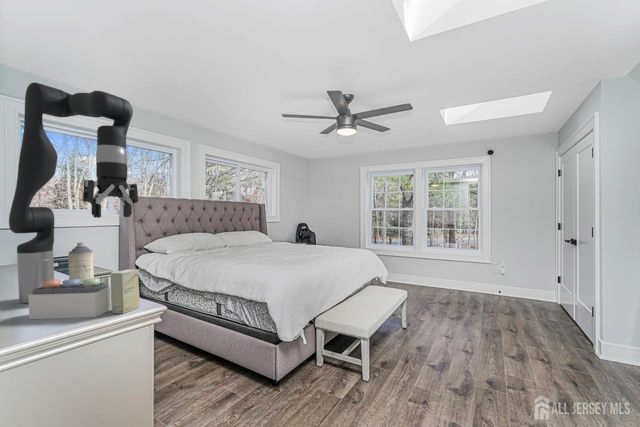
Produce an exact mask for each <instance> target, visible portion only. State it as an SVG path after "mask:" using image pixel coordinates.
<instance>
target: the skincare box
mask: <svg viewBox="0 0 640 427" xmlns="http://www.w3.org/2000/svg"><path fill="white" fill-rule="evenodd" d="M109 274H110V287H111V308H112V309H111V313H112V314H126V313H128V312H130V311H133V310H136V309H139V308H140V289H139V288H140V287H139V269H130V268H129V269H124V270H119V271H114V272H110V273H109Z"/></svg>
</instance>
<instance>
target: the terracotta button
mask: <svg viewBox="0 0 640 427" xmlns="http://www.w3.org/2000/svg"><path fill="white" fill-rule="evenodd" d="M60 284H61V279H60V278H59V279H58V278H56V279H55V278H54V280H47V281H43V282H42V289H53V288H56V287H60Z"/></svg>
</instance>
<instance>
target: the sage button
mask: <svg viewBox="0 0 640 427" xmlns="http://www.w3.org/2000/svg"><path fill="white" fill-rule="evenodd" d="M100 283H101V278H100V277H94V278H92V279H86V280H83V288H91V287H96V286H99V285H100Z"/></svg>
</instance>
